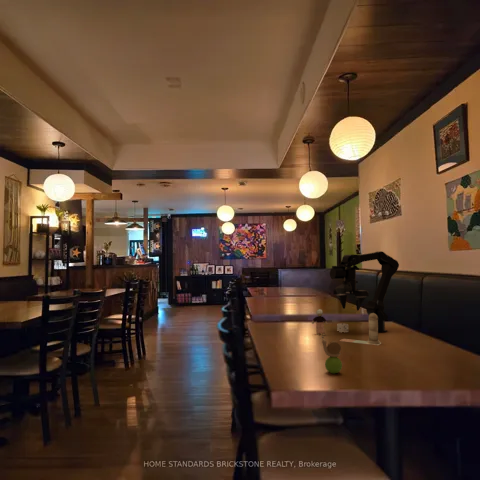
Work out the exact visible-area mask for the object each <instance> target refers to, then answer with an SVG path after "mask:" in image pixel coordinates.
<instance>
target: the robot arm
mask: <svg viewBox="0 0 480 480" xmlns="http://www.w3.org/2000/svg"><path fill="white" fill-rule="evenodd" d="M375 260H376V261H377V262H378V264H379V265H380V266H381V268H380V270H381V276H380V279H379V282H378V285H377V288H376V292H375V294H374V297H373V299H372V300H368V301H367V305H366V306H365V308H366V311H365V312H366V313H367V315H368V316H369V315H370V314H371V313H375V314H376V315H377V317H378V319H377V320H378V333H385V332H388V330H386V327H385V324H386V323H385V322H386V321H388V318H389V316H388V314H387V313H385V312H384V311H385V304H384V301H385V298H386V295H387V291H388V289H389V285H390V283H391V280H392V277H393V276H394V275H395V274H396V273H397V271H398V269H399V266H400V263H399V261H398V260H397V259H394V258H393V257H392V256H390V255H388V254H386V253H385V251H383V250H382V251H375V252H369V253H364V254H362V253H361V254H344V255H343V257H342V258H341V261H340V263H339V264H338V265H332V266H331V268H330V271H329V278H331V280H343V281H342V283H341V284H339V285H337V286H336V287H335V289H333V295H334V296H335V297H337V298H338V300H339V301H340V304H341V307H342V309H343V310H344V309H346V305H347V304H346V303H347V296H348V295H352V296H353V295H354V299H355V301H356V302H355V304H356V305H355V306H356V307H355V308H356V311H360V308H361V307H362V304H363V302H364V301H365V300H366V299H367V297H369V294H370V293H369V291H368V290H366V289H365V290H364V289H360V290H359V289H358V288H357V284H358V283H359V282H358V280H357V272H356V271H360V268H359V267H358V266H357V265H359V264H360V263H363V262H370V261H375Z"/></svg>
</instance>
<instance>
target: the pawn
mask: <svg viewBox="0 0 480 480" xmlns="http://www.w3.org/2000/svg"><path fill="white" fill-rule="evenodd" d="M377 319H378V317H377V315H376V314H375V313H371V314H370V315H368V339H367V340H366V341H367V343H368V344H367V345H371V344H374V346H378V345H377V344H380V343H381V341H380V340H379V332H378V320H377ZM380 345H381V344H380Z"/></svg>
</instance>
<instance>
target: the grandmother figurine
mask: <svg viewBox="0 0 480 480" xmlns="http://www.w3.org/2000/svg"><path fill="white" fill-rule="evenodd" d="M315 314H316V315H317V316H315V317H314V318H313V319H312V321H311V324H312V325H314V324H315V322H316V325H315V329H316V334H315V335H316V336H320V335H321V336H326V335H327V334H326V332H325V326H327V325H329V324H328V322H327V319H326V318H325V317H324V316H323V309H317V310H316V312H315ZM324 323H325V324H324Z"/></svg>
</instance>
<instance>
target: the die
mask: <svg viewBox="0 0 480 480" xmlns="http://www.w3.org/2000/svg"><path fill="white" fill-rule="evenodd" d="M336 331H339V332H338V333H342V332H344V333H349V324H348V323H344V322H343V323H337V324H336Z"/></svg>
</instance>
